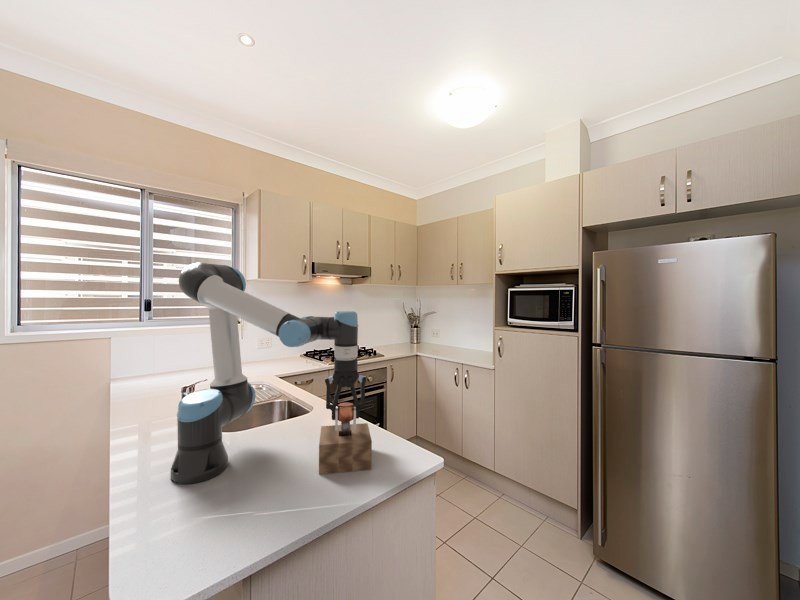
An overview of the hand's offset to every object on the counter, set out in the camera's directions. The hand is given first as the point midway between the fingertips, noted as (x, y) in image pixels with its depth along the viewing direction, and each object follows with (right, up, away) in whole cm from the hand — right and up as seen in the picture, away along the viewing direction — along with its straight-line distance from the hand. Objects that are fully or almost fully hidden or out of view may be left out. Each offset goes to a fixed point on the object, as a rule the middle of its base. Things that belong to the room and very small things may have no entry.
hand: (345, 428), depth 106 cm
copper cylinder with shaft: (0, -3, 0) cm, 3 cm away
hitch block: (0, -11, 0) cm, 11 cm away
